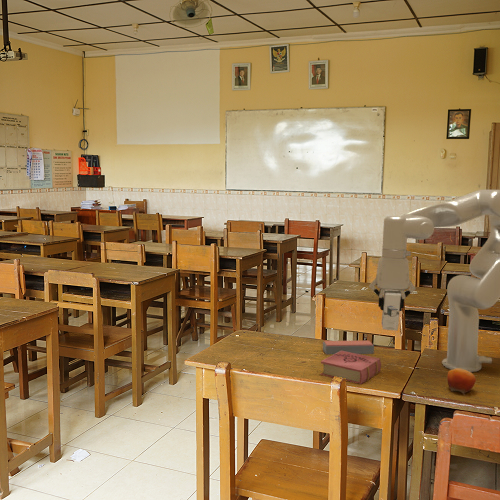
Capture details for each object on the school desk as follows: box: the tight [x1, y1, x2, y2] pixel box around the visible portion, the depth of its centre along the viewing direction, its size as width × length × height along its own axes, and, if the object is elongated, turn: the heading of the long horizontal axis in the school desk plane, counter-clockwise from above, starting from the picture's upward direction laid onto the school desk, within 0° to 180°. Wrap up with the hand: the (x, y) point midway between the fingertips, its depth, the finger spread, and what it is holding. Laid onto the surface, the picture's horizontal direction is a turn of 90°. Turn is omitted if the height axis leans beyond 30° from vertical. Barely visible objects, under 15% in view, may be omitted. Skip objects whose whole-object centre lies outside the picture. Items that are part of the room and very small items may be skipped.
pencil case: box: [322, 340, 375, 355], centre depth 202 cm, size 18×6×3 cm, turn 93°
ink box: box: [381, 289, 401, 331], centre depth 175 cm, size 9×5×12 cm, turn 169°
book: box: [320, 351, 382, 385], centre depth 178 cm, size 14×15×5 cm
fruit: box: [446, 368, 477, 396], centre depth 163 cm, size 8×8×8 cm
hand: (390, 309), depth 175 cm, fingers closed on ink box, 5 cm apart
